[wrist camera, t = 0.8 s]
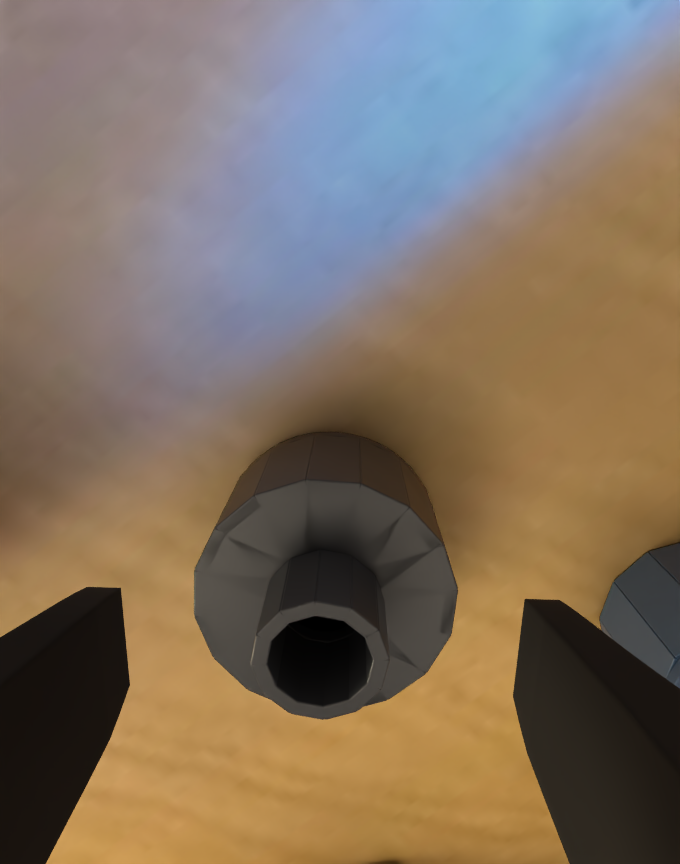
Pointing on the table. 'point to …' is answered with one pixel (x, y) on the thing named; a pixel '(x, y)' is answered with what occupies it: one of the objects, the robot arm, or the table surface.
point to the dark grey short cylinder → (648, 611)
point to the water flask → (326, 577)
